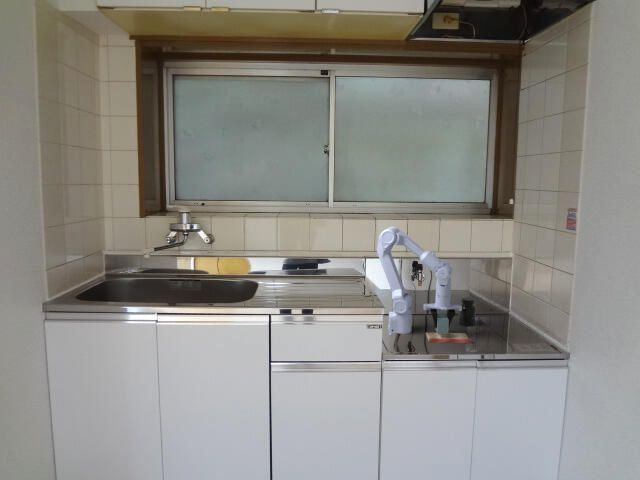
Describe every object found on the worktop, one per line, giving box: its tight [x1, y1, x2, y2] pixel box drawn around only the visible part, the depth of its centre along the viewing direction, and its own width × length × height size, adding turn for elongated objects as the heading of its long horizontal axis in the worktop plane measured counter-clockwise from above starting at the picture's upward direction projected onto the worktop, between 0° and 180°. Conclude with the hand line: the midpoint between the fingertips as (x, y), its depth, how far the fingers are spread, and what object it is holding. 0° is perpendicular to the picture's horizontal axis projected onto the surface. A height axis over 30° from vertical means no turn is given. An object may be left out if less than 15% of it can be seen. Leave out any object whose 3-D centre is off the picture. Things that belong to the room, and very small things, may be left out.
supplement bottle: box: [457, 297, 477, 328], centre depth 191 cm, size 7×7×12 cm
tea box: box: [434, 313, 449, 334], centre depth 178 cm, size 4×6×6 cm
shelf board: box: [425, 332, 473, 344], centre depth 177 cm, size 16×10×2 cm, turn 85°
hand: (441, 327), depth 179 cm, fingers closed on tea box, 4 cm apart
